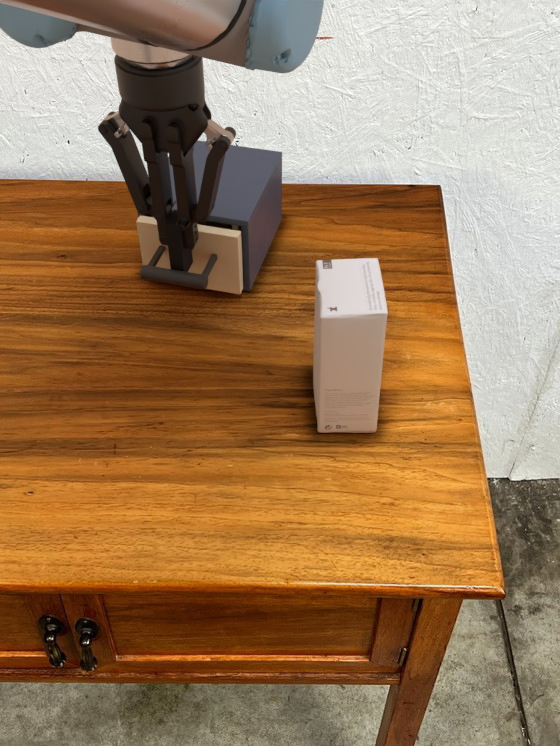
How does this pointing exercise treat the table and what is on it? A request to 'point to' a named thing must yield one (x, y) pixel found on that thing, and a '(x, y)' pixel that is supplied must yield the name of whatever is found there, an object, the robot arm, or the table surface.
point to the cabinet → (244, 199)
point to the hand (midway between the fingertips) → (182, 268)
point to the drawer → (195, 257)
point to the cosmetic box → (348, 344)
